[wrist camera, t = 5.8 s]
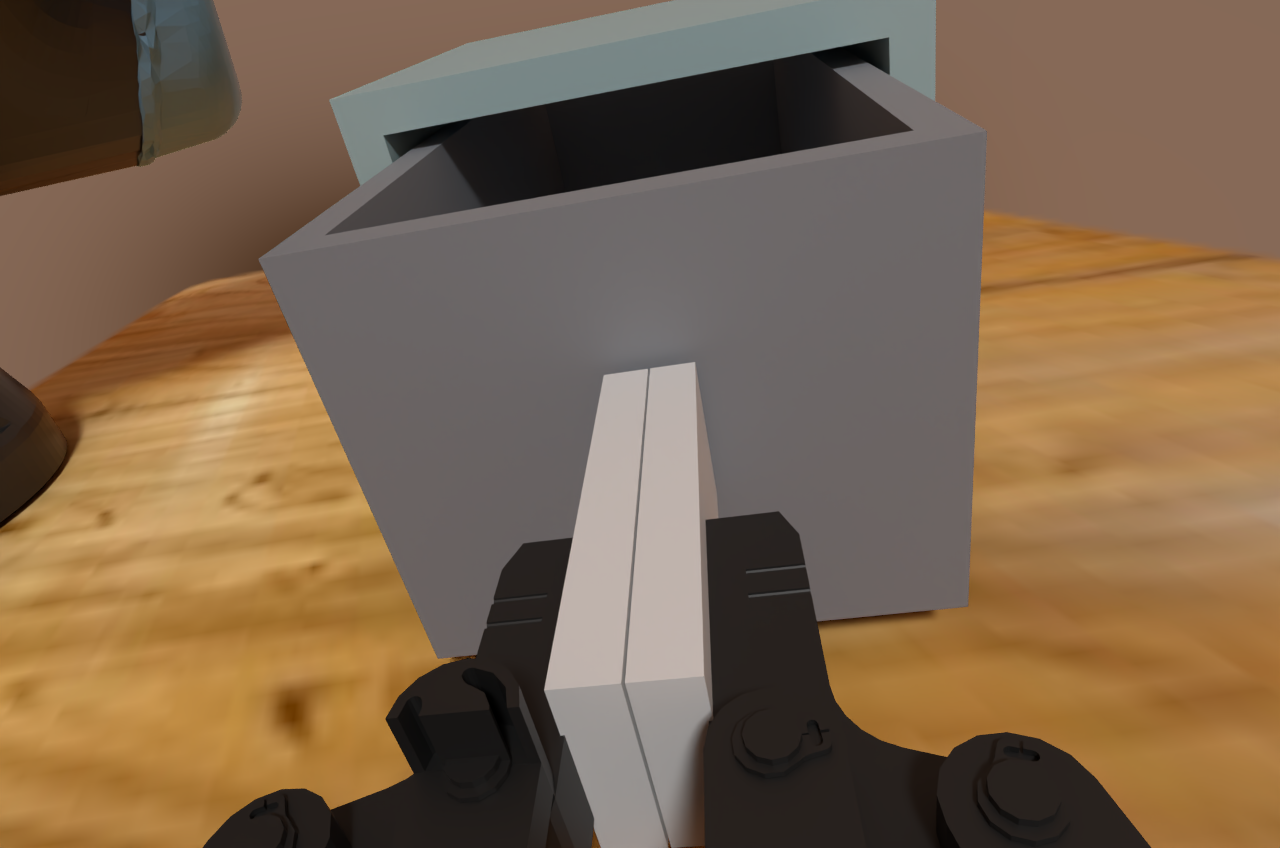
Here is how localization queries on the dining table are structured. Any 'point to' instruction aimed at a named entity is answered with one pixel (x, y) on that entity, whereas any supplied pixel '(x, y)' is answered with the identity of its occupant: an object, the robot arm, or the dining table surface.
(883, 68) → the sleeve
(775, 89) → the tray
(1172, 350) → the dining table surface
